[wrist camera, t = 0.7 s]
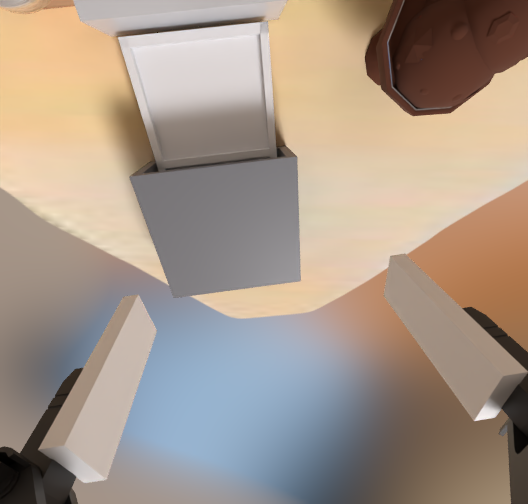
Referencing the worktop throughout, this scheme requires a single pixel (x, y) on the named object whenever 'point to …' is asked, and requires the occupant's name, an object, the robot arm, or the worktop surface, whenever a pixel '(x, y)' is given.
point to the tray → (197, 75)
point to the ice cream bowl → (445, 50)
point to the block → (60, 4)
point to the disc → (23, 5)
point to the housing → (224, 223)
